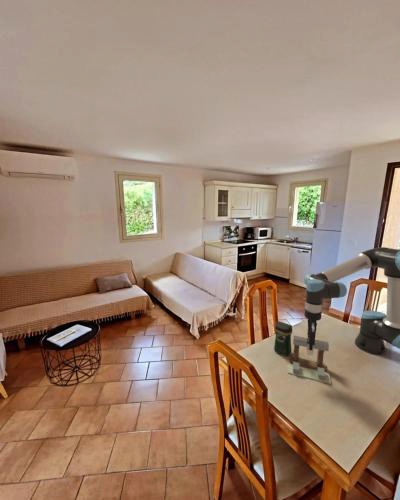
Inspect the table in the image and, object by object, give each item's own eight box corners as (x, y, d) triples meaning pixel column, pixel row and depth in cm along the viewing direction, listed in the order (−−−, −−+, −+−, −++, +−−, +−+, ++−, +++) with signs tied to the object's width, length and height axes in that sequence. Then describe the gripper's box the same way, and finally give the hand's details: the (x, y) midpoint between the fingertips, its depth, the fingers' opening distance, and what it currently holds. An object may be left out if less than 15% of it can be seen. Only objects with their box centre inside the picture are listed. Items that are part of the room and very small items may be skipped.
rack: (324, 364, 123) (326, 343, 120) (326, 371, 118) (328, 349, 115) (290, 357, 130) (291, 336, 127) (290, 363, 124) (291, 341, 122)
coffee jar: (293, 352, 134) (294, 324, 131) (287, 358, 129) (289, 329, 125) (277, 345, 141) (279, 318, 138) (272, 351, 135) (273, 323, 132)
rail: (327, 347, 112) (327, 341, 111) (328, 351, 109) (328, 345, 108) (293, 341, 118) (293, 335, 117) (293, 344, 115) (293, 338, 114)
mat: (328, 374, 116) (329, 369, 115) (331, 383, 109) (331, 378, 109) (288, 364, 123) (288, 359, 123) (287, 373, 117) (288, 368, 116)
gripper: (304, 302, 119) (301, 342, 123) (305, 316, 104) (302, 360, 108) (319, 304, 116) (316, 345, 120) (323, 318, 101) (319, 364, 105)
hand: (309, 352), depth 114 cm, fingers closed on rail, 3 cm apart
